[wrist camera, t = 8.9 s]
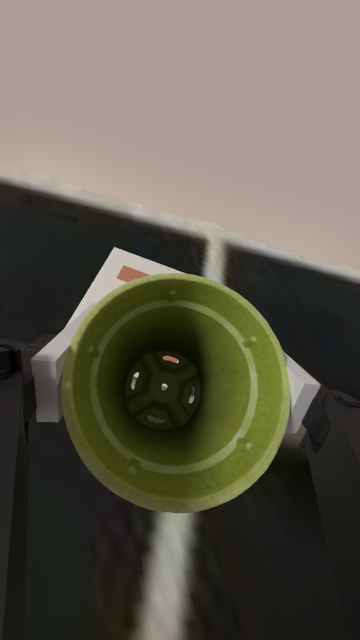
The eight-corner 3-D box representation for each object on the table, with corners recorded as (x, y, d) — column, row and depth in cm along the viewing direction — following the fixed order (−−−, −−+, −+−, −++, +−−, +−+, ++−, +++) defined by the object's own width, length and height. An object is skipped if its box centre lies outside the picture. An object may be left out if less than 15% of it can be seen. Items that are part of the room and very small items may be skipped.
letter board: (215, 288, 38) (217, 285, 37) (187, 395, 30) (188, 394, 29) (115, 251, 37) (114, 247, 36) (55, 350, 29) (52, 348, 28)
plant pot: (123, 320, 18) (110, 250, 10) (224, 345, 19) (286, 298, 11) (81, 442, 14) (4, 487, 6) (213, 466, 14) (300, 534, 7)
